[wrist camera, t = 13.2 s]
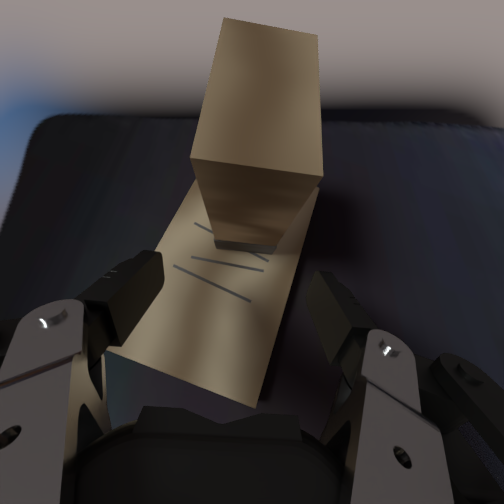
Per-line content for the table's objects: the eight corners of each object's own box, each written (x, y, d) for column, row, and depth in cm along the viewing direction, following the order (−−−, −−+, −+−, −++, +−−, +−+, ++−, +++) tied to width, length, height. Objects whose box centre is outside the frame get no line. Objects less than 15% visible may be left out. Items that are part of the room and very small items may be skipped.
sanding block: (276, 173, 19) (319, 34, 9) (271, 254, 16) (325, 178, 6) (228, 166, 18) (222, 16, 9) (216, 248, 16) (186, 159, 6)
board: (314, 194, 20) (319, 188, 19) (253, 399, 14) (255, 408, 13) (214, 158, 20) (212, 148, 19) (111, 343, 14) (99, 347, 13)
